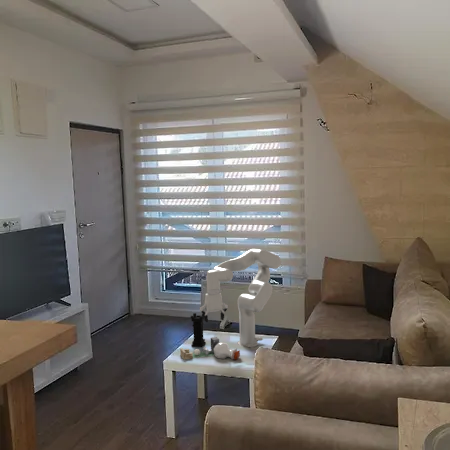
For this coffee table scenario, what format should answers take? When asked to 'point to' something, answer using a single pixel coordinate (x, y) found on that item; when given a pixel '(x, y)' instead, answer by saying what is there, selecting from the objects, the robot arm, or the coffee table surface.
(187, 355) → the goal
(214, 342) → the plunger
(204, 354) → the felt board
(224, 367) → the coffee table surface
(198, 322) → the chess piece
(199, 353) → the ball
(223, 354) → the potion bottle
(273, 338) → the coffee table surface
